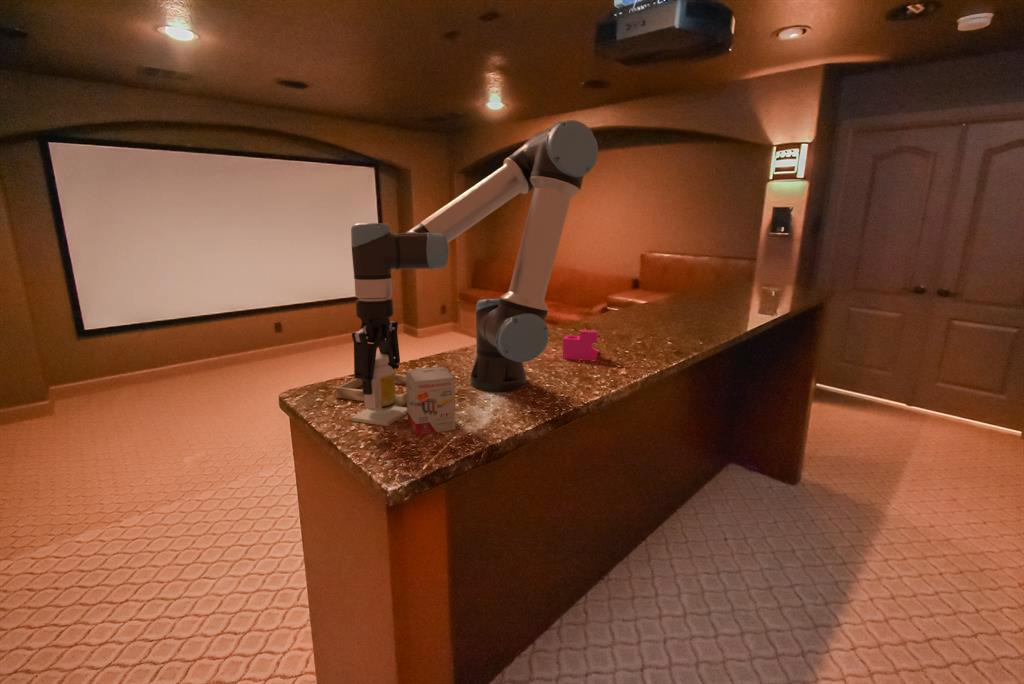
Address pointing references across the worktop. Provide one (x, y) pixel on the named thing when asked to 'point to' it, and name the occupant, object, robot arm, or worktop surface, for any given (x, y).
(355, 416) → the coaster
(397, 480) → the worktop surface
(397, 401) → the corral
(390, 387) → the pill bottle
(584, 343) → the magenta stepped block
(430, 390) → the ink box
